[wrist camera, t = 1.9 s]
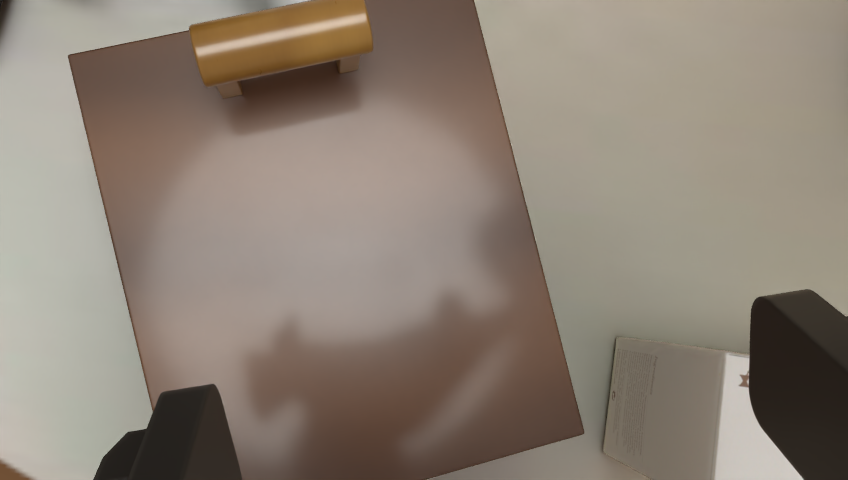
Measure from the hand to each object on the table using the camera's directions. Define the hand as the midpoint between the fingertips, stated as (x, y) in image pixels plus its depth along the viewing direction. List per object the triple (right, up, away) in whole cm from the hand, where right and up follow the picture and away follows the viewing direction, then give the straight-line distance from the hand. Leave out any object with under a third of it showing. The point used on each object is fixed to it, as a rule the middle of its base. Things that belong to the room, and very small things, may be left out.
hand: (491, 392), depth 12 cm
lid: (-4, +2, +16) cm, 17 cm away
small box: (+11, -6, +27) cm, 30 cm away
